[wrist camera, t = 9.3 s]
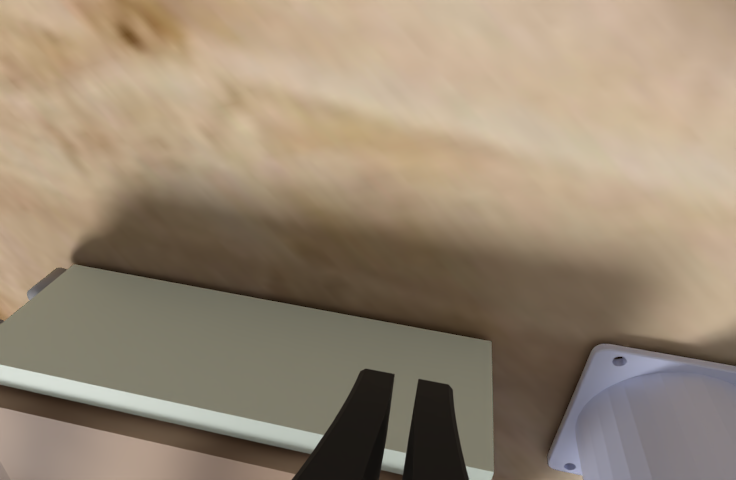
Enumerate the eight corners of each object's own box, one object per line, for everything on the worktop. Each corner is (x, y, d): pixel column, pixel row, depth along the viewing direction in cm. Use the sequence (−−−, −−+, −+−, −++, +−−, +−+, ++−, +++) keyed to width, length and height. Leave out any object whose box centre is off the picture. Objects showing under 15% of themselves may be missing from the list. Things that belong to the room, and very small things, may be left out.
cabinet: (483, 359, 22) (482, 516, 16) (444, 506, 28) (434, 657, 22) (71, 282, 24) (-59, 394, 19) (120, 433, 31) (35, 551, 25)
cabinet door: (491, 341, 21) (493, 472, 16) (486, 361, 21) (486, 493, 16) (56, 260, 23) (-60, 351, 18) (63, 281, 24) (-48, 373, 19)
